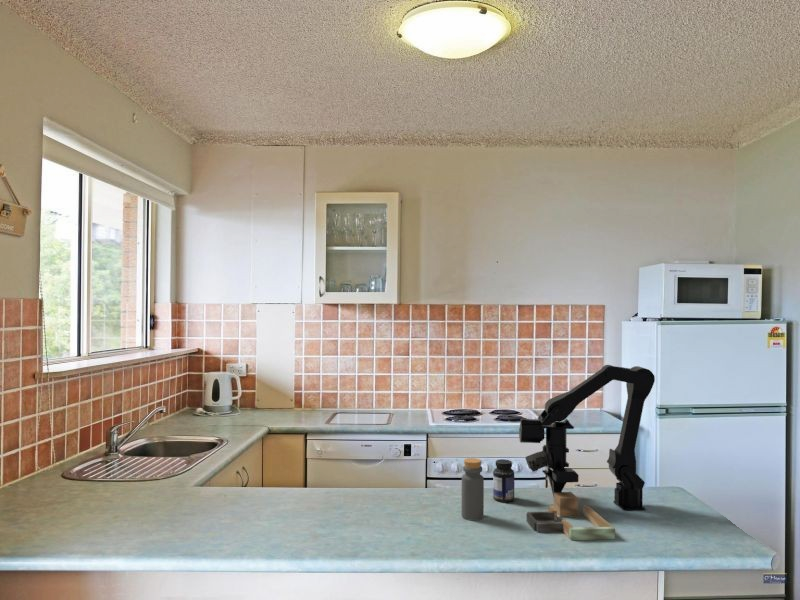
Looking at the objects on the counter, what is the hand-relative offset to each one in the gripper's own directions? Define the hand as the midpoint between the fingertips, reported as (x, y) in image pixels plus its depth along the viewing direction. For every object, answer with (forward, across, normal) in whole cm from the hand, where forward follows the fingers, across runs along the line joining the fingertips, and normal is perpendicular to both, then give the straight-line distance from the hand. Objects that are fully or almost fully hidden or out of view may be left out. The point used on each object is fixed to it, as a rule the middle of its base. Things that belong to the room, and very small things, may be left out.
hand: (555, 498), depth 162 cm
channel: (+1, +17, -3) cm, 18 cm away
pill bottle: (+2, -4, -14) cm, 15 cm away
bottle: (+2, +9, -26) cm, 27 cm away
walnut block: (+2, +8, 0) cm, 8 cm away
